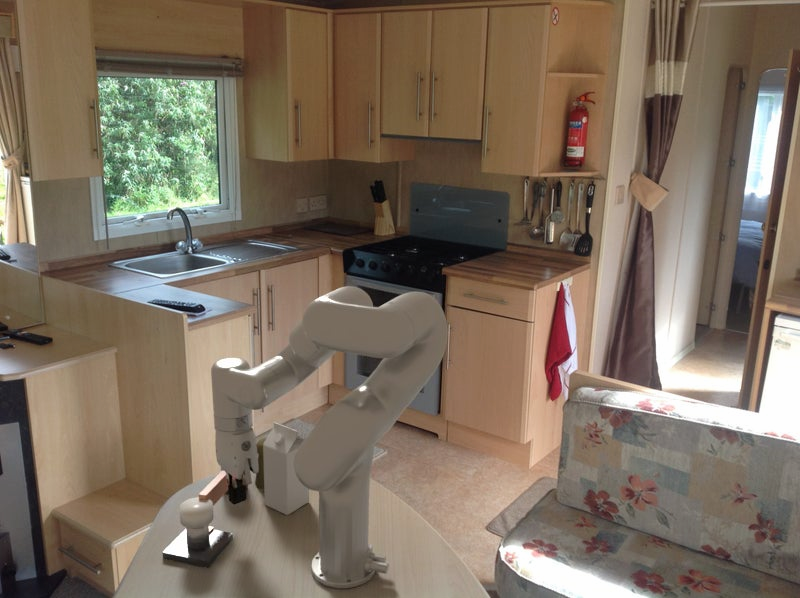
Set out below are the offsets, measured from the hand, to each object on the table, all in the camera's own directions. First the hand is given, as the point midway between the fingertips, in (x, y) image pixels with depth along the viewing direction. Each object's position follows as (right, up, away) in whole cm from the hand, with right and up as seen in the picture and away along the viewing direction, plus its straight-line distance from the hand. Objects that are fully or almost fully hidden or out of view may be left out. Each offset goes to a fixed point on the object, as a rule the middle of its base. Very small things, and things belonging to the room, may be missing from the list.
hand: (237, 500), depth 153 cm
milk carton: (+8, -5, +14) cm, 17 cm away
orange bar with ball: (-6, -1, -1) cm, 6 cm away
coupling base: (-7, -9, -3) cm, 12 cm away
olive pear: (+2, -2, +22) cm, 23 cm away
